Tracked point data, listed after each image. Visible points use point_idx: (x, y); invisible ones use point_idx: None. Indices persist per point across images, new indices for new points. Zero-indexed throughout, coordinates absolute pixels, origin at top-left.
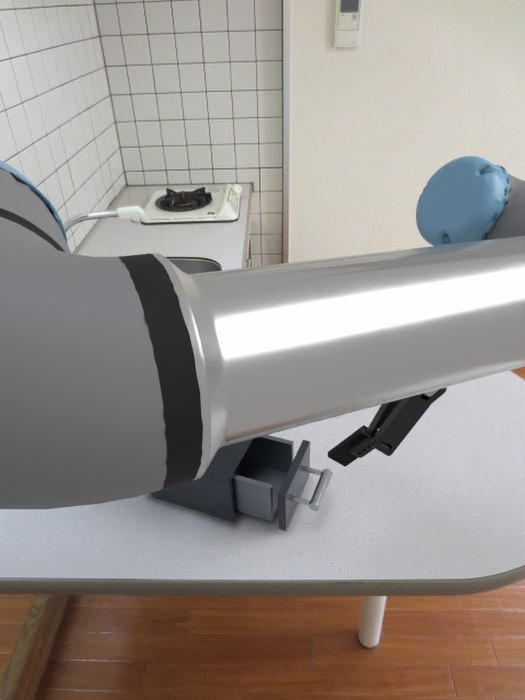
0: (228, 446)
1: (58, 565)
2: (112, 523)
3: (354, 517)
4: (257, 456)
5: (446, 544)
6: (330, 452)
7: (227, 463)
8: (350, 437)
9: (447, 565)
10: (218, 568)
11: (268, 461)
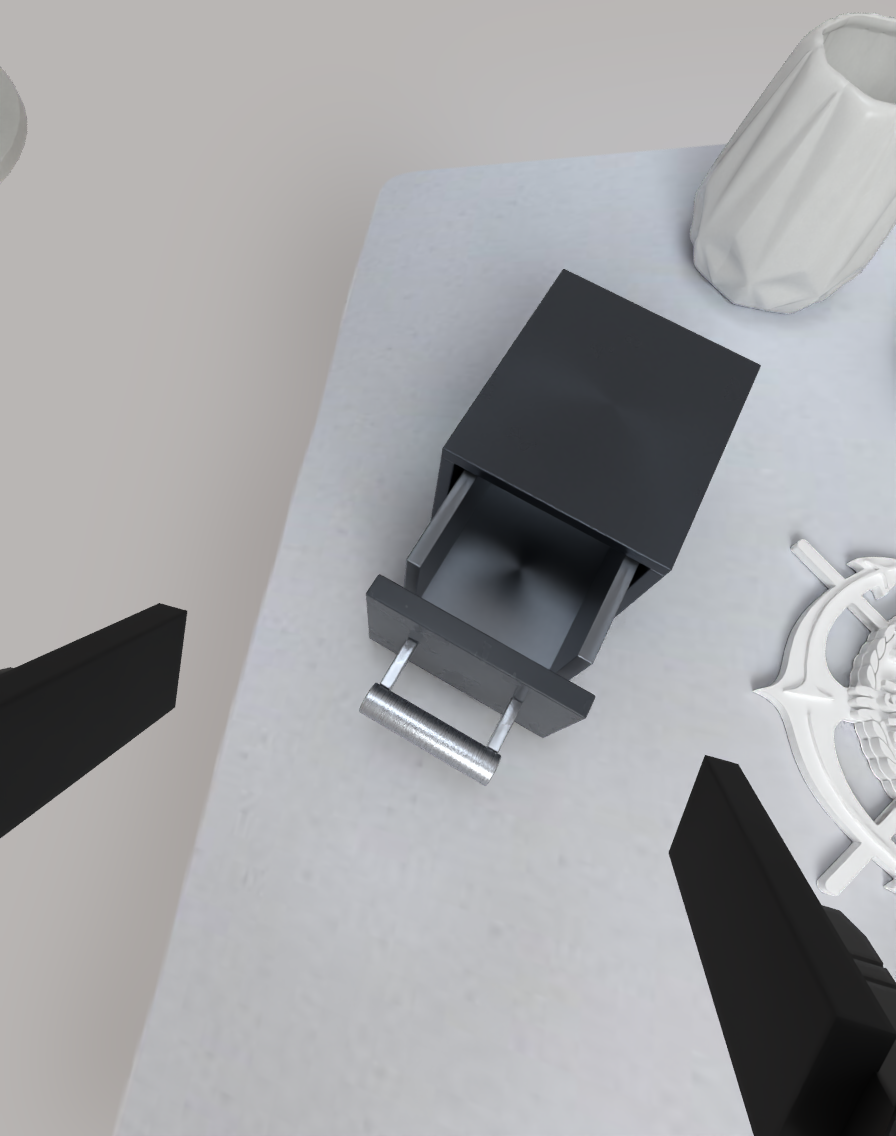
0: (570, 461)
1: (389, 237)
2: (467, 311)
3: (389, 841)
4: (595, 586)
5: (234, 1127)
6: (160, 613)
7: (503, 451)
8: (39, 670)
9: (165, 1096)
10: (316, 487)
11: (579, 616)
